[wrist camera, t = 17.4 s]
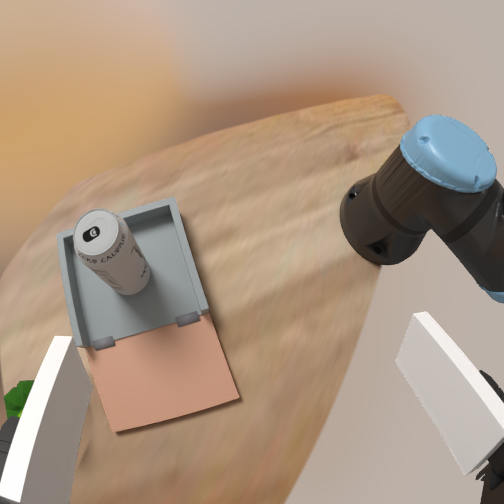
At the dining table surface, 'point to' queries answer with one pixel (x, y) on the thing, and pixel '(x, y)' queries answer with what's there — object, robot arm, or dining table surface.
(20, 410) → the bell pepper
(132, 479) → the dining table surface
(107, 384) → the hinged lid tray
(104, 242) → the energy drink can
